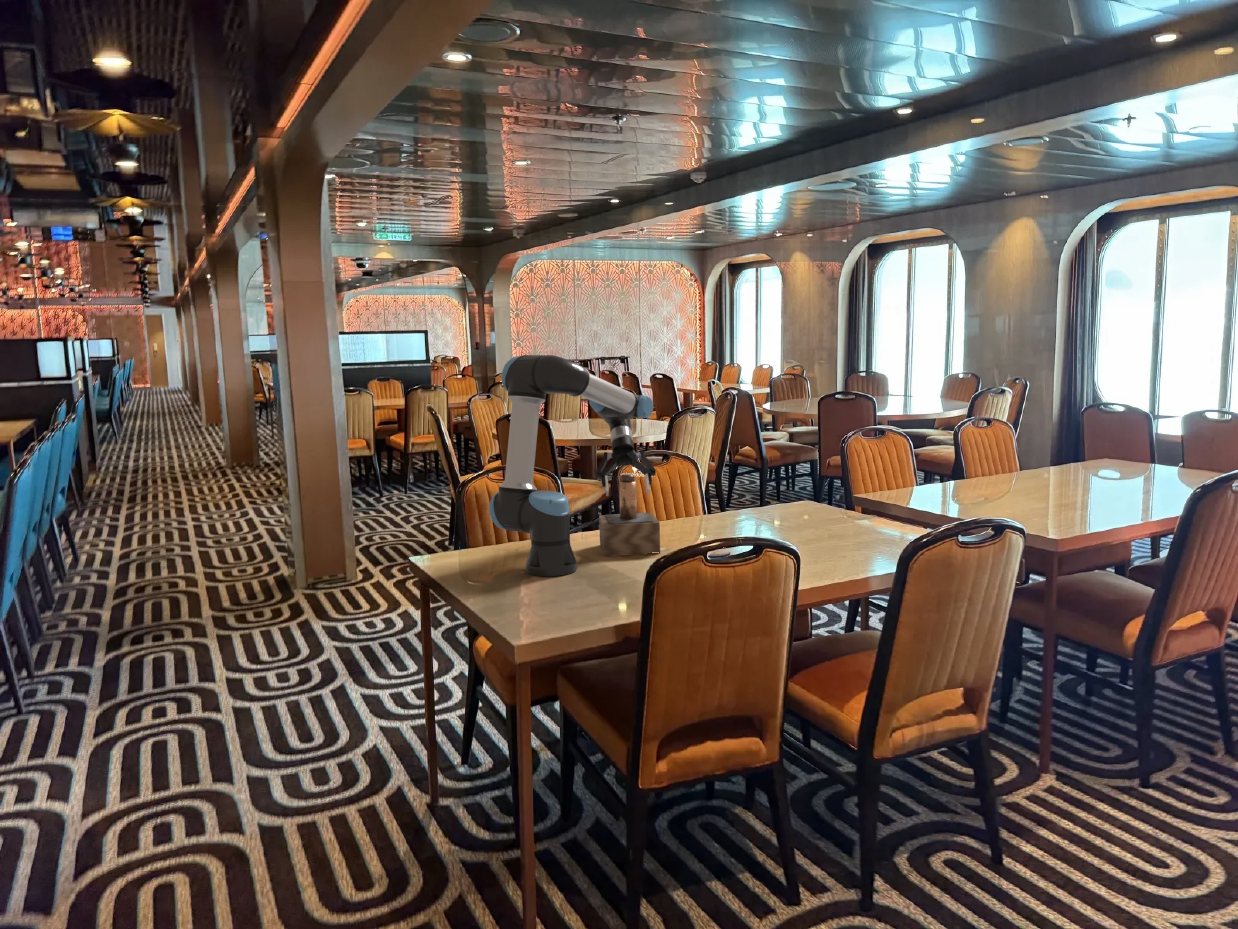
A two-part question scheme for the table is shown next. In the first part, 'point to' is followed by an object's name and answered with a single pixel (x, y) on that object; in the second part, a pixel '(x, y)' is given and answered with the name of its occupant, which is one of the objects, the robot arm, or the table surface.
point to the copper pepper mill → (628, 497)
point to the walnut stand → (629, 534)
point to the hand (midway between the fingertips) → (628, 492)
